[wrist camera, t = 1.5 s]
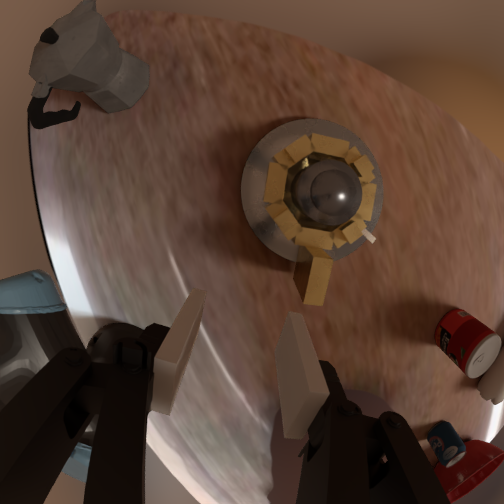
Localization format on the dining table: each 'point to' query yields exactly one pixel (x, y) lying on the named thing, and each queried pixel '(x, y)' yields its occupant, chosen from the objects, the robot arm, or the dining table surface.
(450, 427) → the soda can
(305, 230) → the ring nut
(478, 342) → the canned food
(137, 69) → the coffeepot
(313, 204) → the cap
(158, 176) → the dining table surface
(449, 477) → the mixing bowl
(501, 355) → the bottle
